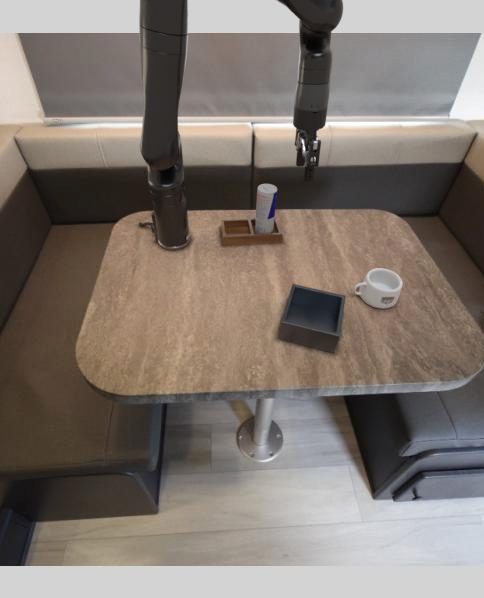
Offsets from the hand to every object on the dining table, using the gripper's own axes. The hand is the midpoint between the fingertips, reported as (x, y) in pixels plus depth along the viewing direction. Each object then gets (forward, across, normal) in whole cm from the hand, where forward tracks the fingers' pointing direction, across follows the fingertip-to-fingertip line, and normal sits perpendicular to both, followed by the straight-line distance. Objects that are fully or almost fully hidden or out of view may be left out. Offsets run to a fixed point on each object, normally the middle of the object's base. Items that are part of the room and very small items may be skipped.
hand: (304, 173), depth 90 cm
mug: (+23, +24, +14) cm, 37 cm away
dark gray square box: (+22, +32, -4) cm, 40 cm away
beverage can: (+21, -5, -9) cm, 23 cm away
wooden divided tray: (+21, -5, -14) cm, 25 cm away
